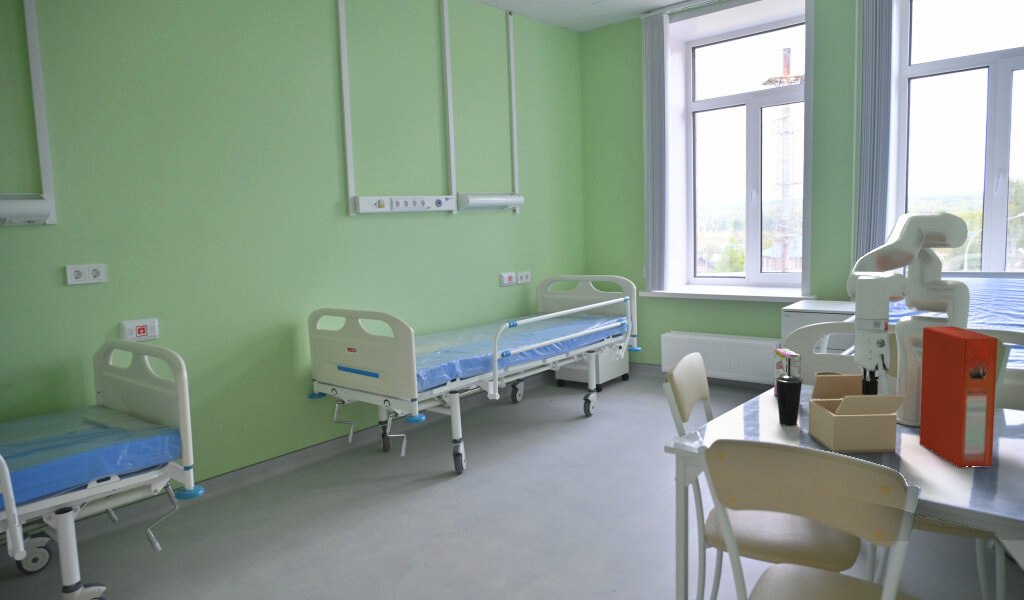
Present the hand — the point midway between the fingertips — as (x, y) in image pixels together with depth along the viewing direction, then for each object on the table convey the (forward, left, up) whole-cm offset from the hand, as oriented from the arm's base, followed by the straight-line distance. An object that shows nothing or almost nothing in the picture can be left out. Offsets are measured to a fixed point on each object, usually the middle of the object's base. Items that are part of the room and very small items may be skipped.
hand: (869, 394), depth 172 cm
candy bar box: (+1, -54, -16) cm, 57 cm away
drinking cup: (+10, -27, -16) cm, 33 cm away
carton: (0, -9, -16) cm, 18 cm away
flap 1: (0, -15, -2) cm, 15 cm away
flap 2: (0, +1, -2) cm, 2 cm away
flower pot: (-13, -52, -16) cm, 56 cm away
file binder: (-21, +2, -16) cm, 26 cm away
